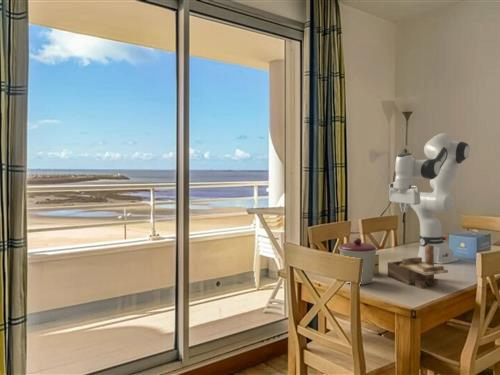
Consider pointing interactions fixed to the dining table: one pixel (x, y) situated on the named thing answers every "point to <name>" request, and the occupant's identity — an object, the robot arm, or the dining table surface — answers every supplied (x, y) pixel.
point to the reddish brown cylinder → (429, 256)
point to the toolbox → (409, 276)
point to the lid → (421, 266)
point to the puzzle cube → (376, 265)
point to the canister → (363, 252)
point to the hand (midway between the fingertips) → (404, 212)
